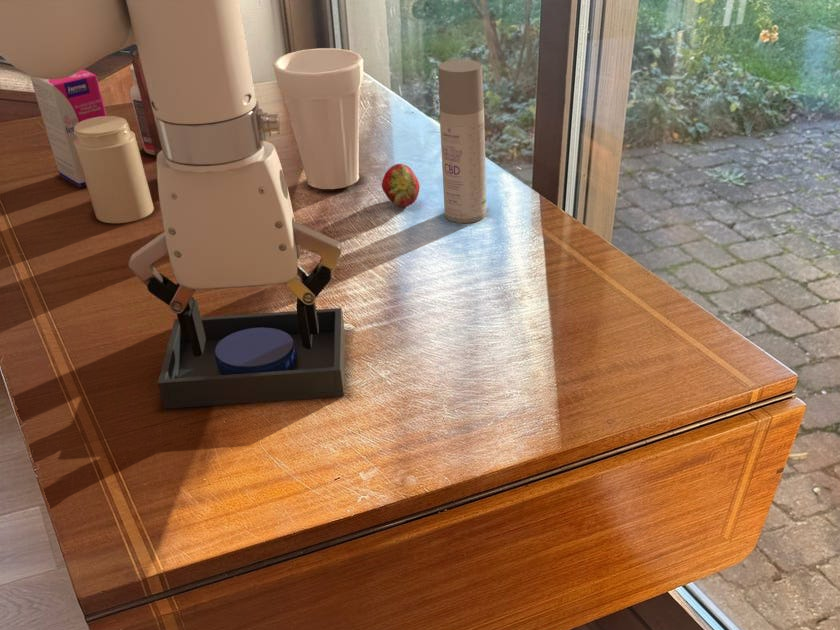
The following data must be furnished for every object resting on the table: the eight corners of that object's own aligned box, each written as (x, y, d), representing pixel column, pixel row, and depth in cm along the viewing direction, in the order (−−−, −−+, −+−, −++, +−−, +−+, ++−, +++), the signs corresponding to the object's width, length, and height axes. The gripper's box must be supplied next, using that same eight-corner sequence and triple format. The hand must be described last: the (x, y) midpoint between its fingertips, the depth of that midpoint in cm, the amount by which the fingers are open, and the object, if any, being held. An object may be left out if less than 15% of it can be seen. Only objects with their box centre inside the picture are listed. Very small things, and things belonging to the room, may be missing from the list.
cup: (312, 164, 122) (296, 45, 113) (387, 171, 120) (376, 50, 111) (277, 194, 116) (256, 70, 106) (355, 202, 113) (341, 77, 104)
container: (441, 222, 109) (433, 72, 98) (448, 205, 112) (441, 58, 101) (483, 223, 108) (479, 72, 98) (489, 207, 112) (486, 58, 101)
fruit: (417, 193, 115) (414, 148, 111) (423, 213, 111) (420, 167, 107) (381, 196, 115) (377, 151, 111) (386, 216, 110) (381, 170, 107)
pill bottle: (193, 150, 127) (174, 66, 120) (153, 160, 125) (132, 74, 118) (177, 139, 130) (157, 56, 123) (138, 148, 128) (116, 64, 121)
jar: (90, 225, 111) (63, 136, 104) (101, 202, 115) (75, 116, 109) (149, 221, 111) (126, 132, 104) (157, 199, 116) (135, 112, 109)
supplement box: (81, 189, 119) (49, 84, 110) (59, 176, 122) (26, 73, 114) (124, 176, 121) (96, 72, 113) (102, 163, 124) (72, 62, 116)
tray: (165, 409, 83) (157, 383, 81) (181, 344, 91) (174, 318, 89) (344, 396, 84) (340, 370, 82) (345, 332, 92) (341, 307, 90)
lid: (213, 386, 85) (209, 369, 83) (223, 346, 89) (219, 329, 88) (294, 382, 85) (291, 364, 84) (299, 342, 90) (296, 325, 88)
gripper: (327, 111, 77) (353, 318, 89) (103, 125, 76) (160, 331, 88) (325, 145, 71) (353, 360, 84) (84, 160, 71) (148, 374, 83)
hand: (254, 344), depth 86 cm, fingers open, 9 cm apart
